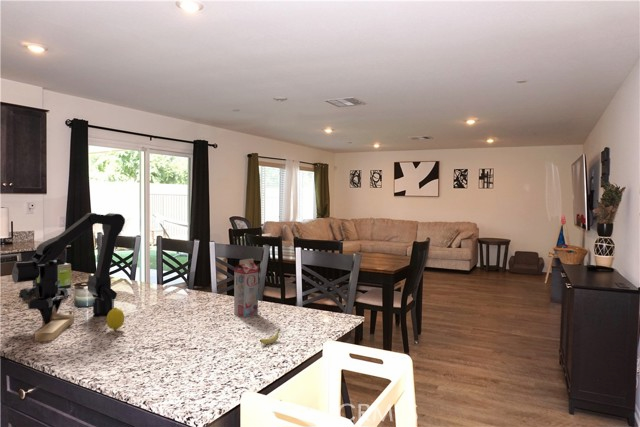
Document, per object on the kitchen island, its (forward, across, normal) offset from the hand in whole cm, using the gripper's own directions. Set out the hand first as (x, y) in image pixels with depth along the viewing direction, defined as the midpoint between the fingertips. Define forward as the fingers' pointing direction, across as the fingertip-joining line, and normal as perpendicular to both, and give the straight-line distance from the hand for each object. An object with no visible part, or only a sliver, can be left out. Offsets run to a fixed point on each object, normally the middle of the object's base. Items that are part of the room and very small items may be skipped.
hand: (49, 322), depth 151 cm
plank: (+1, +6, +4) cm, 8 cm away
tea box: (+2, -48, -16) cm, 51 cm away
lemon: (+1, +10, +24) cm, 26 cm away
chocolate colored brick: (+1, 0, +3) cm, 3 cm away
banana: (+2, +30, +75) cm, 81 cm away
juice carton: (+2, -4, +69) cm, 69 cm away
